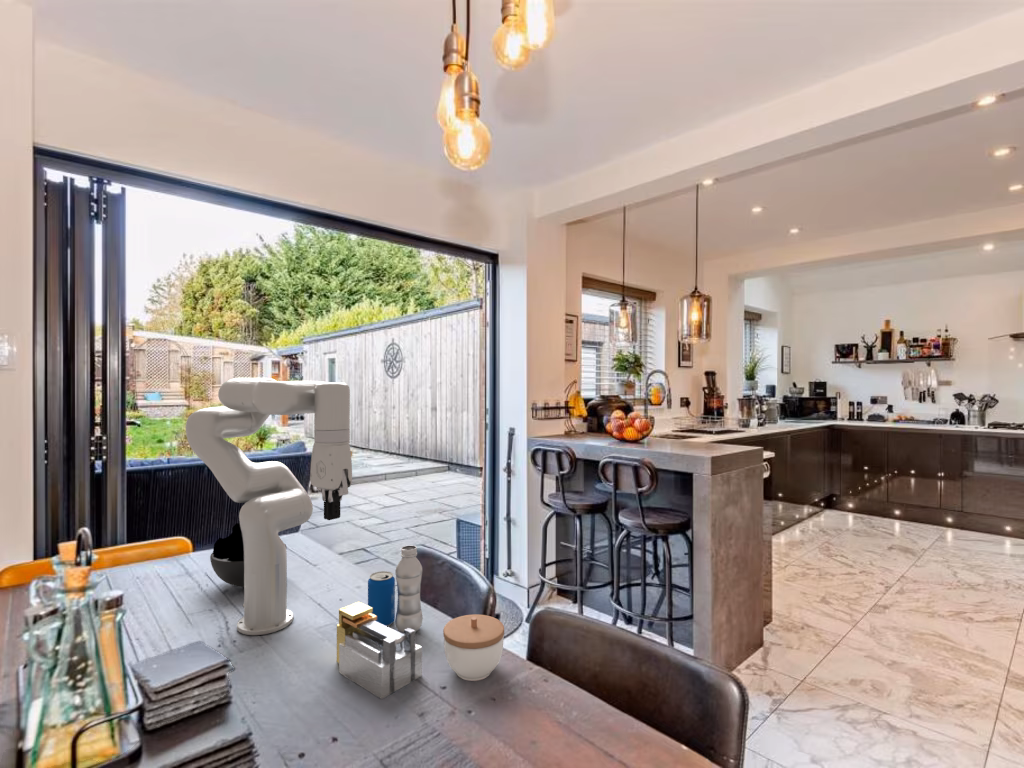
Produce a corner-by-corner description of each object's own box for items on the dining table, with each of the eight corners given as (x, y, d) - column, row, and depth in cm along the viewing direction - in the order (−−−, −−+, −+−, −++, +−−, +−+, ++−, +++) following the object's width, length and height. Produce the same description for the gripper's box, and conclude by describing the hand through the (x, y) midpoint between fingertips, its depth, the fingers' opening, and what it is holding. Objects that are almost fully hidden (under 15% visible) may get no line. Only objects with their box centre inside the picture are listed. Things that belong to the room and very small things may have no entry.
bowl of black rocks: (210, 604, 140) (210, 534, 140) (209, 579, 158) (209, 516, 157) (291, 589, 150) (291, 524, 150) (282, 567, 168) (282, 508, 167)
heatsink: (339, 672, 108) (339, 624, 108) (379, 653, 116) (379, 608, 116) (381, 699, 99) (381, 646, 99) (421, 675, 107) (422, 627, 107)
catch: (336, 662, 112) (336, 610, 112) (360, 650, 117) (360, 600, 117) (350, 670, 109) (350, 616, 109) (374, 658, 114) (374, 607, 114)
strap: (410, 638, 105) (410, 631, 105) (390, 648, 101) (390, 641, 101) (362, 615, 115) (362, 609, 115) (342, 624, 111) (342, 617, 111)
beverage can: (387, 631, 126) (388, 581, 126) (363, 628, 127) (363, 579, 127) (398, 619, 132) (399, 571, 132) (375, 616, 134) (375, 569, 133)
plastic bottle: (427, 626, 128) (427, 545, 128) (413, 639, 122) (413, 553, 122) (404, 622, 131) (404, 542, 130) (389, 634, 124) (389, 550, 124)
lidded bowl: (480, 696, 100) (481, 639, 100) (430, 676, 107) (430, 622, 107) (515, 666, 111) (515, 614, 111) (467, 649, 118) (467, 600, 118)
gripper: (298, 436, 120) (298, 516, 120) (336, 441, 110) (336, 528, 111) (328, 433, 126) (328, 510, 126) (366, 438, 116) (366, 520, 116)
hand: (332, 518), depth 118 cm, fingers closed
